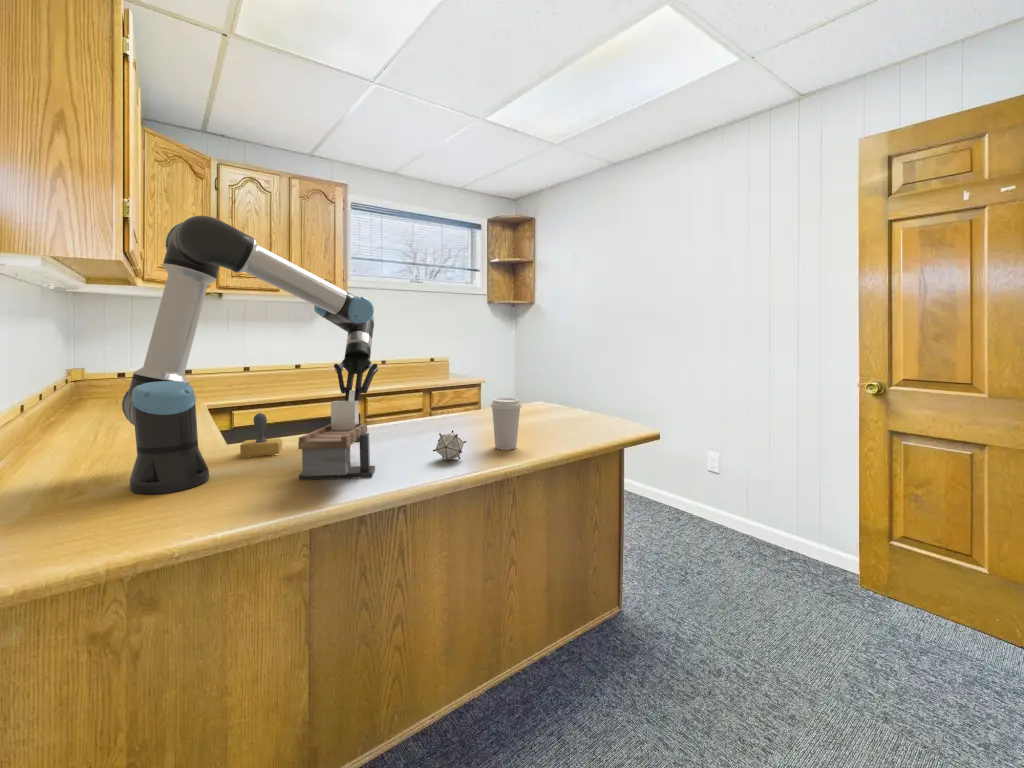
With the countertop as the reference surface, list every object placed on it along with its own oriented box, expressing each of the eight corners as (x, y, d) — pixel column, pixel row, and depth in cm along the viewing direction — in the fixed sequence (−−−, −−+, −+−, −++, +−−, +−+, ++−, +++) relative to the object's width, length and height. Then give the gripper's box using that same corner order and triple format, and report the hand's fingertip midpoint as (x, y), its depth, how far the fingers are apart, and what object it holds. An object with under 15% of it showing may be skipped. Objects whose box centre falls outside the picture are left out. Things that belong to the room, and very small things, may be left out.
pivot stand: (306, 472, 123) (304, 433, 121) (375, 470, 125) (374, 431, 124) (299, 479, 117) (297, 438, 115) (371, 477, 119) (370, 436, 118)
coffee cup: (526, 446, 151) (527, 399, 149) (510, 453, 143) (510, 403, 141) (501, 442, 156) (501, 396, 154) (484, 448, 148) (484, 400, 146)
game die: (449, 470, 137) (454, 438, 142) (469, 465, 132) (474, 432, 137) (424, 460, 132) (431, 427, 137) (444, 454, 127) (450, 420, 132)
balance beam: (329, 454, 134) (329, 424, 134) (368, 453, 135) (367, 423, 135) (297, 477, 104) (297, 437, 104) (347, 475, 106) (347, 436, 106)
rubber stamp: (240, 457, 135) (238, 415, 134) (245, 452, 141) (243, 412, 139) (279, 455, 138) (277, 414, 137) (282, 450, 144) (280, 410, 142)
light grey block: (336, 428, 132) (335, 400, 132) (358, 427, 133) (358, 400, 133) (331, 430, 126) (330, 402, 126) (354, 430, 127) (354, 401, 127)
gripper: (381, 357, 155) (375, 418, 141) (338, 357, 153) (329, 419, 139) (378, 341, 149) (372, 403, 135) (334, 341, 148) (324, 403, 133)
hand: (350, 411), depth 137 cm, fingers closed
